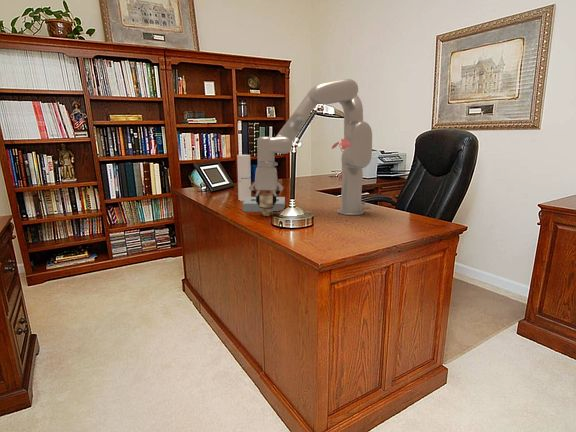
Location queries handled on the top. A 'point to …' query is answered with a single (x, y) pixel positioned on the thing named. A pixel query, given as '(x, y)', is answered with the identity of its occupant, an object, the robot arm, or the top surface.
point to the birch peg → (266, 203)
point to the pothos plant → (344, 145)
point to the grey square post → (244, 177)
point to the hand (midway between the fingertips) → (266, 204)
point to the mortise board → (252, 206)
